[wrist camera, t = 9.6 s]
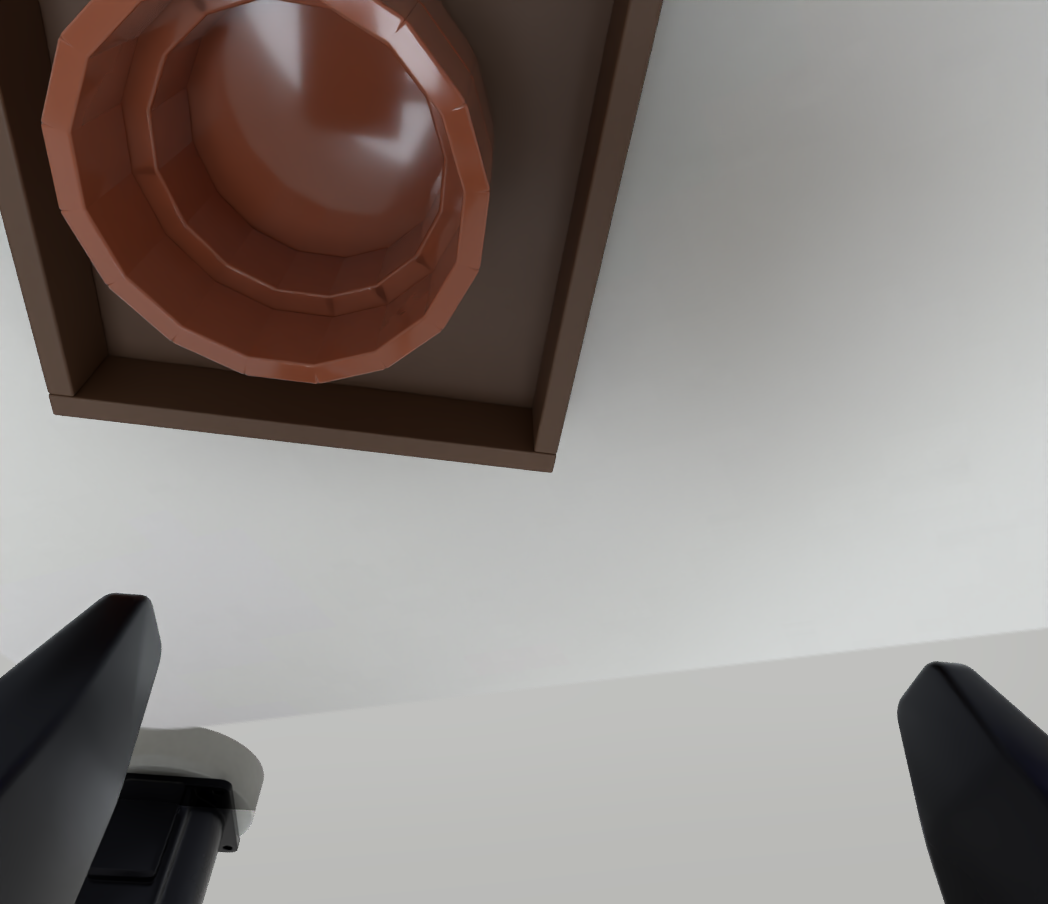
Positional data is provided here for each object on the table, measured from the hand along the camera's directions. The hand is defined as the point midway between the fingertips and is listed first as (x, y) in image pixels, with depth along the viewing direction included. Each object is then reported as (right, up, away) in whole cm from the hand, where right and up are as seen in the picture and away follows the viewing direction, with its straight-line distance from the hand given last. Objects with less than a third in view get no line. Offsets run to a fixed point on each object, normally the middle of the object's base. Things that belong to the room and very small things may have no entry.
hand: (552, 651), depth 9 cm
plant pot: (-5, +9, +7) cm, 13 cm away
